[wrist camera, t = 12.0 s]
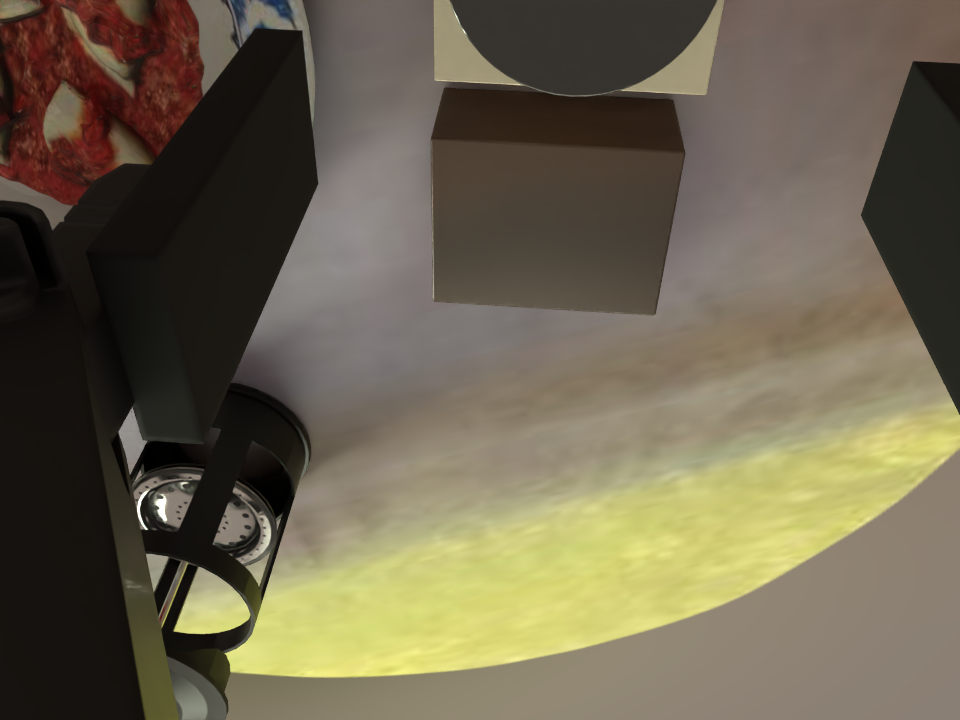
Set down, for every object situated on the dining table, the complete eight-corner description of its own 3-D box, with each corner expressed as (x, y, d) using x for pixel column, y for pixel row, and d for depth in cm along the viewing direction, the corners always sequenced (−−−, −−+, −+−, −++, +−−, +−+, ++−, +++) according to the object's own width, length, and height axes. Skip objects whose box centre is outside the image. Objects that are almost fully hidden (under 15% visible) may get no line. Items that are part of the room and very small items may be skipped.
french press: (178, 349, 50) (-35, 750, 32) (336, 410, 52) (217, 818, 34) (136, 475, 57) (-56, 861, 39) (277, 524, 59) (154, 911, 41)
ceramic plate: (410, -142, 34) (399, -124, 31) (246, 341, 49) (231, 376, 47) (-348, -518, 28) (-428, -530, 26) (-261, 155, 44) (-306, 185, 42)
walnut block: (443, 86, 39) (430, 137, 35) (674, 99, 39) (686, 151, 35) (444, 243, 44) (432, 302, 40) (647, 255, 44) (655, 316, 40)
